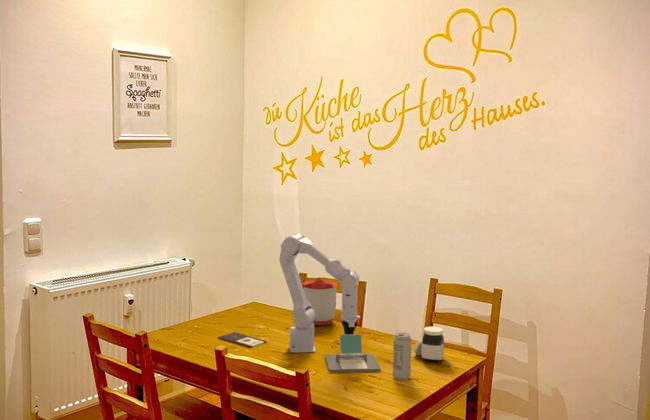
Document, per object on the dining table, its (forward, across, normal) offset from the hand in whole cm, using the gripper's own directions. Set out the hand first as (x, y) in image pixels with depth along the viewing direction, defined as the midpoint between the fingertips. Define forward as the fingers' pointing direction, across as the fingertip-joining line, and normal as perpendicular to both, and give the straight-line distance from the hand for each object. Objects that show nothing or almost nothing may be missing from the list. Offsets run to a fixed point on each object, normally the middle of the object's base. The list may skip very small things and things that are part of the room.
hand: (348, 340), depth 245 cm
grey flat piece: (+5, -10, 0) cm, 12 cm away
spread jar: (+6, -6, -29) cm, 30 cm away
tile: (0, -6, 0) cm, 6 cm away
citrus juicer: (+6, +43, +8) cm, 44 cm away
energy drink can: (+6, -24, -15) cm, 29 cm away
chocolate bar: (+6, +19, +40) cm, 45 cm away
